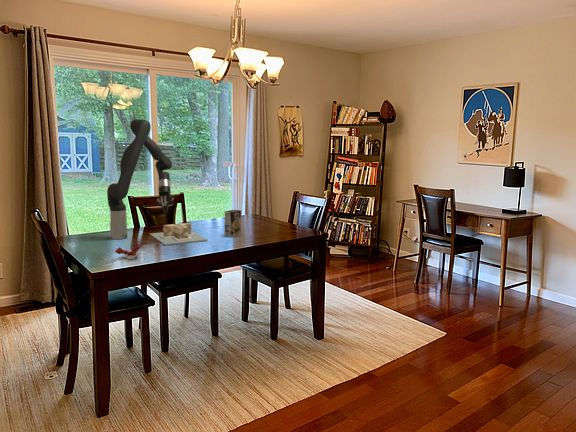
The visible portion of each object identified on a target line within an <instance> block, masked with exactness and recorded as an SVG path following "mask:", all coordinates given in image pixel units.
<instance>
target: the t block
mask: <svg viewBox="0 0 576 432" xmlns="http://www.w3.org/2000/svg"><path fill="white" fill-rule="evenodd" d="M162 227H163V228H162V230H163V231H162V232H163V235H164V237H168V236H174V237H176V238H178V239H185V238H188V234H191V231H192V224H191V223H190V222H183V223H172V224H163V226H162Z"/></svg>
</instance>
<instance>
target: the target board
mask: <svg viewBox="0 0 576 432" xmlns="http://www.w3.org/2000/svg"><path fill="white" fill-rule="evenodd" d="M150 235H151V236H152V237H153V238H155V239H156V240H157V241H159V242H160V243H162V245H163V246H164V247H166V246H167V247H168V246H169V247H170V246H175V245H176V246H177V245H185V244H193V243H203V242H208V240H209V239H208V238H206V237H204V236H202V235H200V234H198V233H197V232H195V231H192V230H191V234H188V238H185V239H178V238H176V237H174V236H168V237H164V235H163V231H161V232H153V233H150Z"/></svg>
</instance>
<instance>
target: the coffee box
mask: <svg viewBox="0 0 576 432" xmlns="http://www.w3.org/2000/svg"><path fill="white" fill-rule="evenodd" d="M224 236H225V237H229V238H235V237H238V236H242V210H240V209H231V210H230V209H229V210H225V211H224Z"/></svg>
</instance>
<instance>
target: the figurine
mask: <svg viewBox="0 0 576 432" xmlns="http://www.w3.org/2000/svg"><path fill="white" fill-rule="evenodd" d="M142 247H143V245H141V244H140V243H136V244H135V246H134V247H133V248H132V249H127V248H125V249H123V248H121V247H116V249H115V251H114V253H116V254H118V255H121V254H123V255H124V256H126V259H128V260H129V259H130V260H132V259H134V258H135V259H137V258H138V257H139V255H138V254H137V252H138V251H139V250H140V249H141V248H142Z"/></svg>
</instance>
